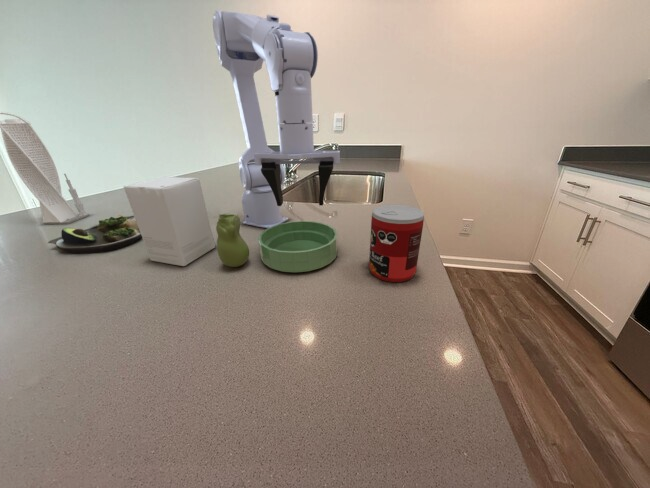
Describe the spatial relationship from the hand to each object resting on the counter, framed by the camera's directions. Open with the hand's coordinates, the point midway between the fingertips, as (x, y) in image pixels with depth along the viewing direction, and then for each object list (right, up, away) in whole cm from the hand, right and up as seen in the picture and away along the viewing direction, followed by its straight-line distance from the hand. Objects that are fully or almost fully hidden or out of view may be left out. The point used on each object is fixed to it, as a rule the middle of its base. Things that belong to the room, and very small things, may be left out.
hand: (300, 204), depth 48 cm
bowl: (-1, -10, +4) cm, 10 cm away
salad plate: (-47, -6, +14) cm, 50 cm away
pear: (-12, -12, +1) cm, 17 cm away
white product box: (-25, -10, +6) cm, 27 cm away
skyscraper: (-71, -1, +27) cm, 76 cm away
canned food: (+16, -12, -3) cm, 21 cm away
